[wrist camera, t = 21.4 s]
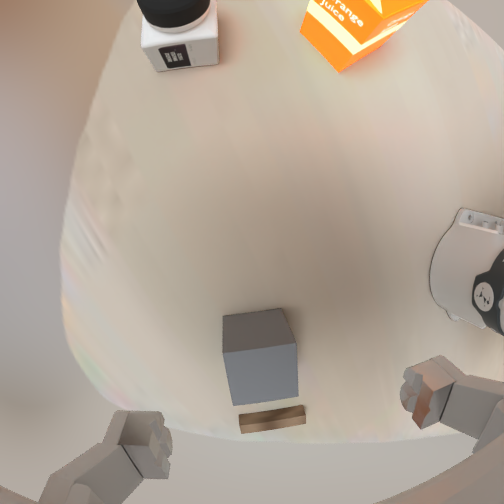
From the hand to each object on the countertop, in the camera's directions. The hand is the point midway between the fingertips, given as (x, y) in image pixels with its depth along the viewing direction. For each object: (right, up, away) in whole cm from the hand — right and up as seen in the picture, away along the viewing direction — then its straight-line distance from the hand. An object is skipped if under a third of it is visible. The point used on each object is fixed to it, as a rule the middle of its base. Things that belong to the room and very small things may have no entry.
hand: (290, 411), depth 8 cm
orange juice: (+11, +33, +22) cm, 41 cm away
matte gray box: (-1, -6, +29) cm, 30 cm away
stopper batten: (+2, -20, +33) cm, 39 cm away
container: (-9, +31, +20) cm, 38 cm away
